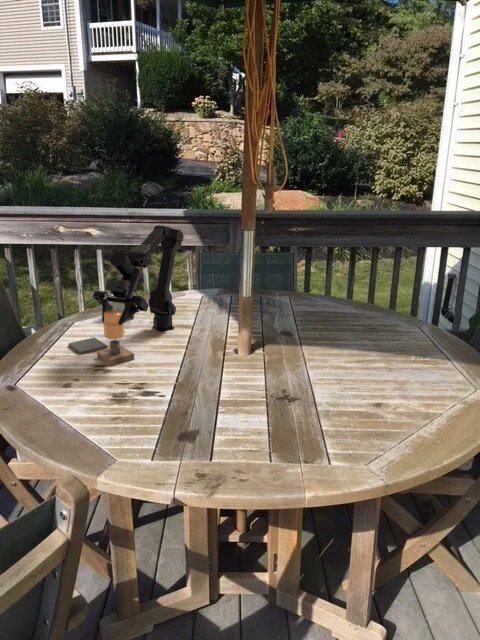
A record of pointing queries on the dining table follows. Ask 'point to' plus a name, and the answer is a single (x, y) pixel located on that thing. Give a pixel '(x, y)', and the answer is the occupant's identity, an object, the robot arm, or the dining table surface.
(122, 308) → the food container
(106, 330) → the orange rounded bulb shape
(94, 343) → the mat
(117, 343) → the post stand
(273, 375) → the dining table surface
